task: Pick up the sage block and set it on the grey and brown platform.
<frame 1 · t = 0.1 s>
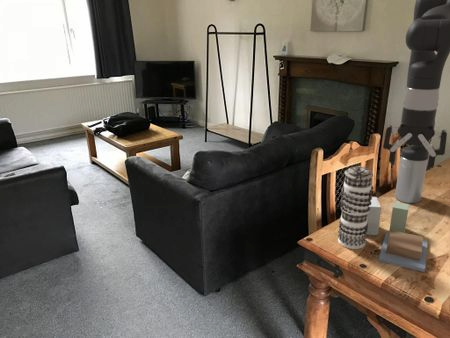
hand: (410, 166, 96), 29 cm above the table, tool pointing down, fingers open, 8 cm apart
decorative candle: (351, 242, 116), on the table
small box: (367, 229, 123), on the table
sage block: (397, 229, 122), on the table
grey and brown platform: (403, 251, 110), on the table
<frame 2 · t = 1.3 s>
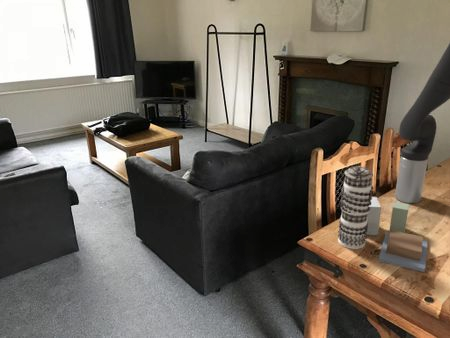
nothing on the table moved.
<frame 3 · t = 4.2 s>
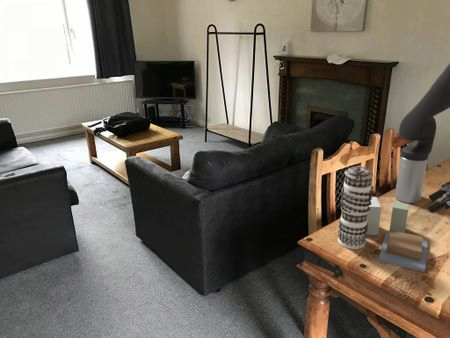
hand: (430, 204, 114), 11 cm above the table, tool tilted 45°, fingers open, 8 cm apart
nothing on the table moved.
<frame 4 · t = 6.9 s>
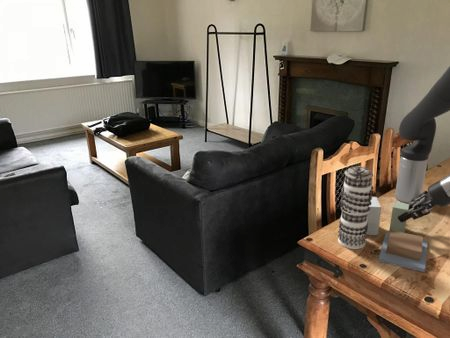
hand: (400, 216, 120), 5 cm above the table, tool tilted 45°, fingers closed on sage block, 4 cm apart
sage block: (397, 229, 122), on the table, touching gripper
everything else where it was.
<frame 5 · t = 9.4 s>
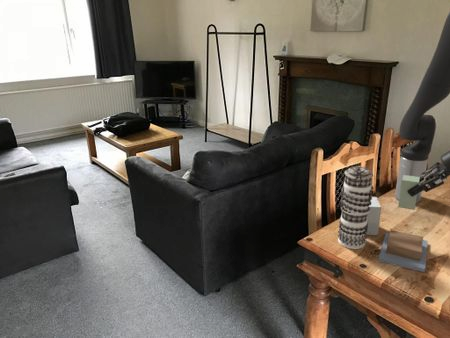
hand: (410, 190, 110), 17 cm above the table, tool tilted 45°, fingers closed on sage block, 4 cm apart
sage block: (406, 205, 112), point 12 cm above the table, touching gripper
everything else where it was.
when the fingers open (10 cm above the table, at t = 12.0 s): sage block stays where it is, resting on grey and brown platform.
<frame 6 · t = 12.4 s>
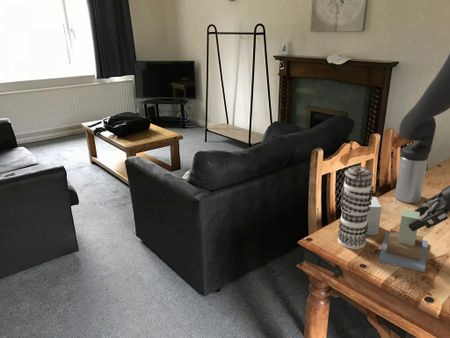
hand: (411, 221, 106), 11 cm above the table, tool tilted 45°, fingers open, 7 cm apart
sage block: (406, 240, 109), point 4 cm above the table, touching grey and brown platform
everything else where it was.
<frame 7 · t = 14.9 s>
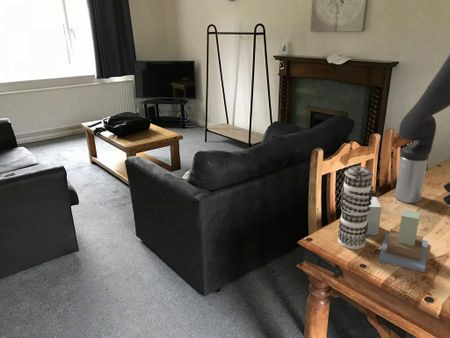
hand: (445, 195, 99), 21 cm above the table, tool tilted 45°, fingers open, 8 cm apart
nothing on the table moved.
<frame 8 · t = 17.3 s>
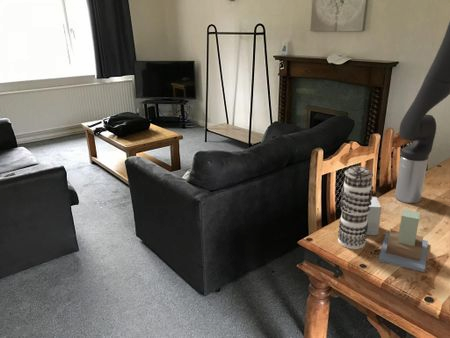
nothing on the table moved.
at the end: sage block 0.2 cm off-centre on the grey and brown platform, point 4.0 cm above the grey and brown platform's base; sage block tilted 0°; the gripper is holding nothing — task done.
